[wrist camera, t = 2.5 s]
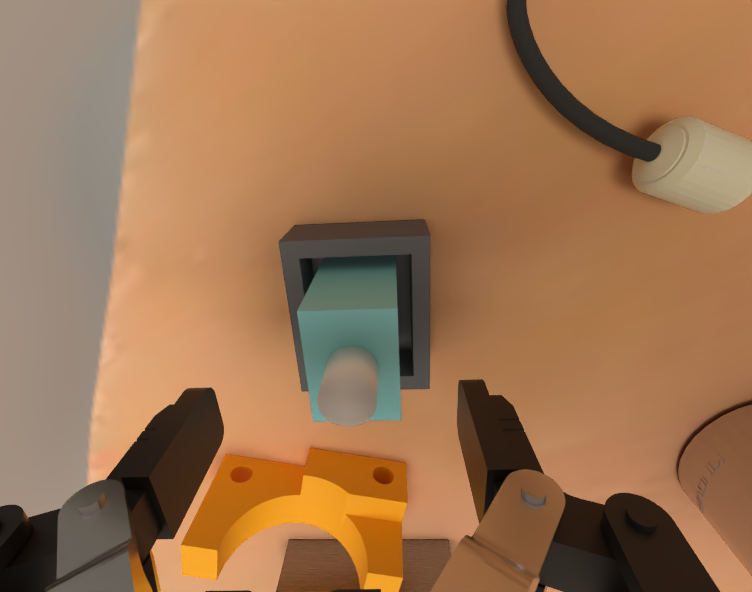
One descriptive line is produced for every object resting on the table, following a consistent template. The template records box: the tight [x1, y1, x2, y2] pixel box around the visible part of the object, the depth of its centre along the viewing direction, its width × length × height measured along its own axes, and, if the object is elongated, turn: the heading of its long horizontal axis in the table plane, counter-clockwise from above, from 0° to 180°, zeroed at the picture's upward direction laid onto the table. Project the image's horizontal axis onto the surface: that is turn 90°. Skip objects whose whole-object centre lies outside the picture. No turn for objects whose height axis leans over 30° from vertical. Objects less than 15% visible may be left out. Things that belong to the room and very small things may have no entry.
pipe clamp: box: [181, 448, 407, 592], centre depth 24 cm, size 12×4×6 cm, turn 80°
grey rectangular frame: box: [279, 220, 430, 391], centre depth 20 cm, size 7×8×3 cm
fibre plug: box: [297, 255, 401, 427], centre depth 17 cm, size 4×5×8 cm
